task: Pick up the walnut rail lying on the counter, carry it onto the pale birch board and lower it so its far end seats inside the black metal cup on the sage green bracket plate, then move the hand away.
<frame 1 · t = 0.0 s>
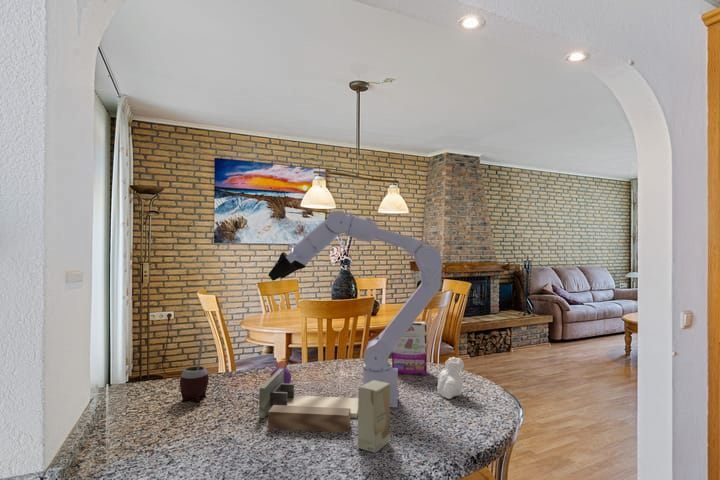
hand: (275, 276, 112), 32 cm above the counter, tool tilted 50°, fingers open, 7 cm apart
skincare box: (374, 445, 85), on the counter
kendama: (281, 381, 126), on the counter
candy bar box: (409, 373, 135), on the counter
rail: (309, 427, 94), on the counter
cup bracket: (282, 405, 106), on the counter
mate gourd: (194, 399, 110), on the counter
bust: (450, 395, 115), on the counter
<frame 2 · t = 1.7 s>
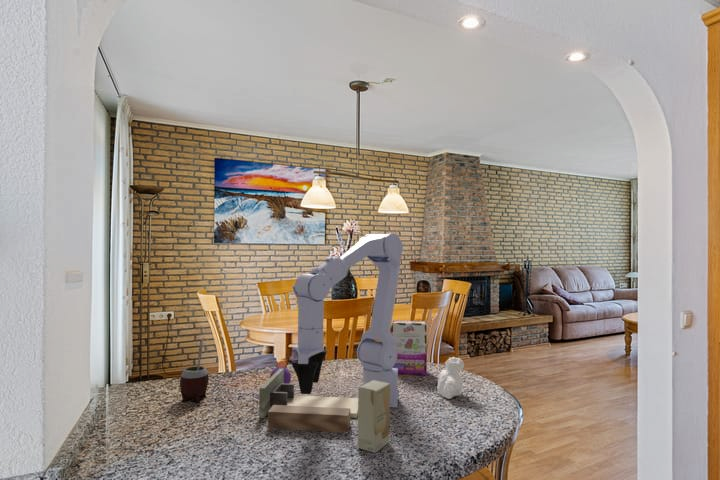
hand: (309, 387, 94), 9 cm above the counter, tool pointing down, fingers open, 7 cm apart
nothing on the counter moved.
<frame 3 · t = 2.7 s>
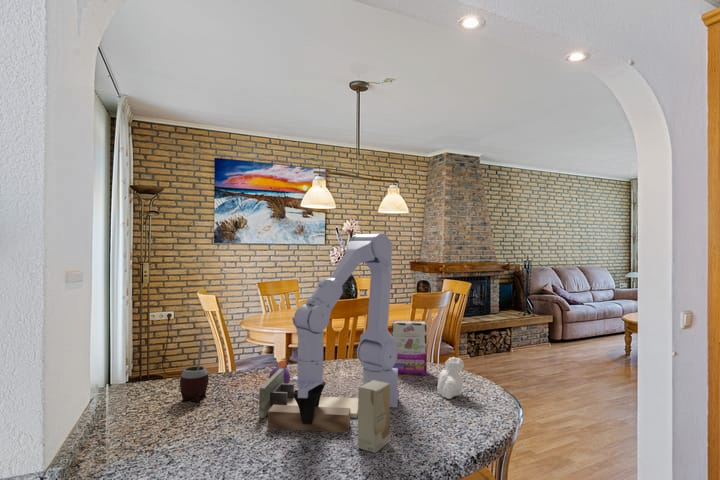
hand: (309, 419, 94), 2 cm above the counter, tool pointing down, fingers closed on rail, 4 cm apart
rail: (309, 427, 94), on the counter, touching gripper
everything else where it was.
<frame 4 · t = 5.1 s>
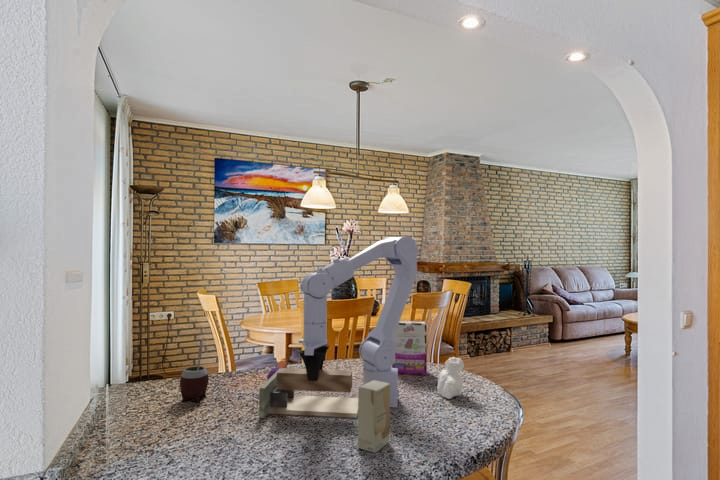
hand: (314, 377, 102), 8 cm above the counter, tool pointing down, fingers closed on rail, 4 cm apart
rail: (314, 388, 102), point 6 cm above the counter, touching gripper
everything else where it was.
when the fingers open (4 cm above the counter, at t = 6.9 s): rail stays where it is, resting on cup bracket.
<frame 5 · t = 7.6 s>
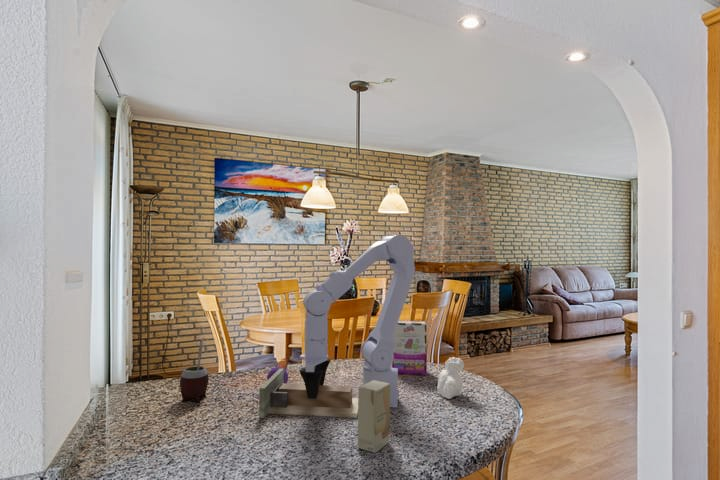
hand: (315, 392, 105), 4 cm above the counter, tool pointing down, fingers open, 7 cm apart
rail: (315, 403, 105), point 1 cm above the counter, touching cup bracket
everything else where it was.
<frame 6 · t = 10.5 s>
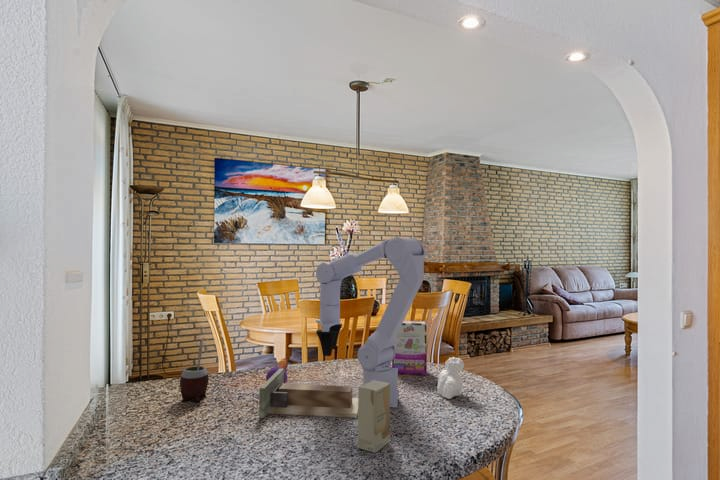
hand: (329, 352, 119), 10 cm above the counter, tool pointing down, fingers open, 7 cm apart
nothing on the counter moved.
at the end: rail 0.3 cm from the target spot on the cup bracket, point 1.0 cm above the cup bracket's base; rail tilted 0°; the gripper is holding nothing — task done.
